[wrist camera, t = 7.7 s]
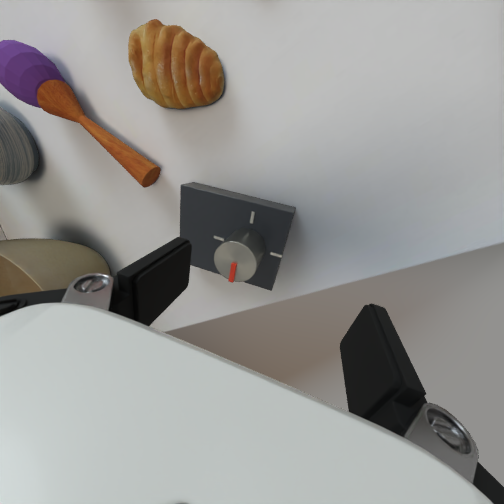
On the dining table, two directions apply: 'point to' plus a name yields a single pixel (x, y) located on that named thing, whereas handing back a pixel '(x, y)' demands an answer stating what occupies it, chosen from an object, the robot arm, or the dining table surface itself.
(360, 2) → the dining table surface
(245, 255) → the program dial
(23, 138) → the vase
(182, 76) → the pastry
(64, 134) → the dining table surface
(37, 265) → the beige bowl
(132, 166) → the kendama
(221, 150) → the dining table surface
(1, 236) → the cake mix box
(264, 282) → the program panel
